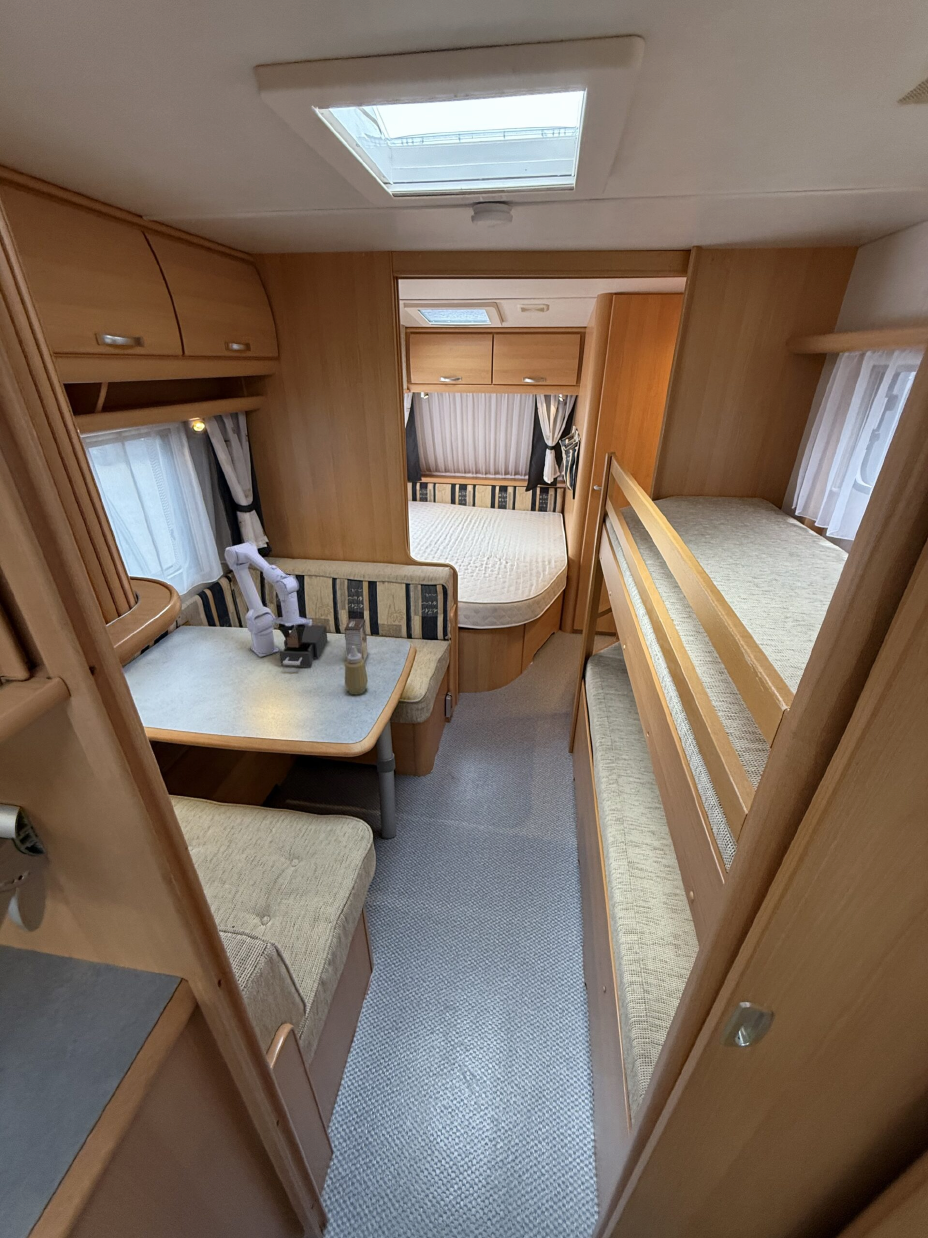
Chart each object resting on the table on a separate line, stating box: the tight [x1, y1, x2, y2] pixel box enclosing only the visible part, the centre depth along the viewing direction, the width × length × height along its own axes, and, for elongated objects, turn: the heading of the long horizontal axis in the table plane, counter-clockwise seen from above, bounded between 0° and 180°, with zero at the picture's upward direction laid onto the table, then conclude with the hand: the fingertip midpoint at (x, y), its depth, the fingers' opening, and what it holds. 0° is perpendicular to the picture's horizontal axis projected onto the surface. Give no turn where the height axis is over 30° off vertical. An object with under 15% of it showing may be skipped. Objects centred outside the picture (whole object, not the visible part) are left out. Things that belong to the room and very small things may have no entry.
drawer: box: [278, 644, 315, 668], centre depth 191 cm, size 18×11×6 cm, turn 179°
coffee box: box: [344, 618, 369, 663], centre depth 192 cm, size 9×6×16 cm
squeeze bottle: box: [344, 646, 369, 696], centre depth 173 cm, size 8×8×18 cm
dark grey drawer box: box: [283, 624, 329, 660], centre depth 200 cm, size 15×13×8 cm
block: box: [287, 632, 302, 647], centre depth 186 cm, size 4×4×4 cm
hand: (294, 641), depth 186 cm, fingers closed on block, 4 cm apart
